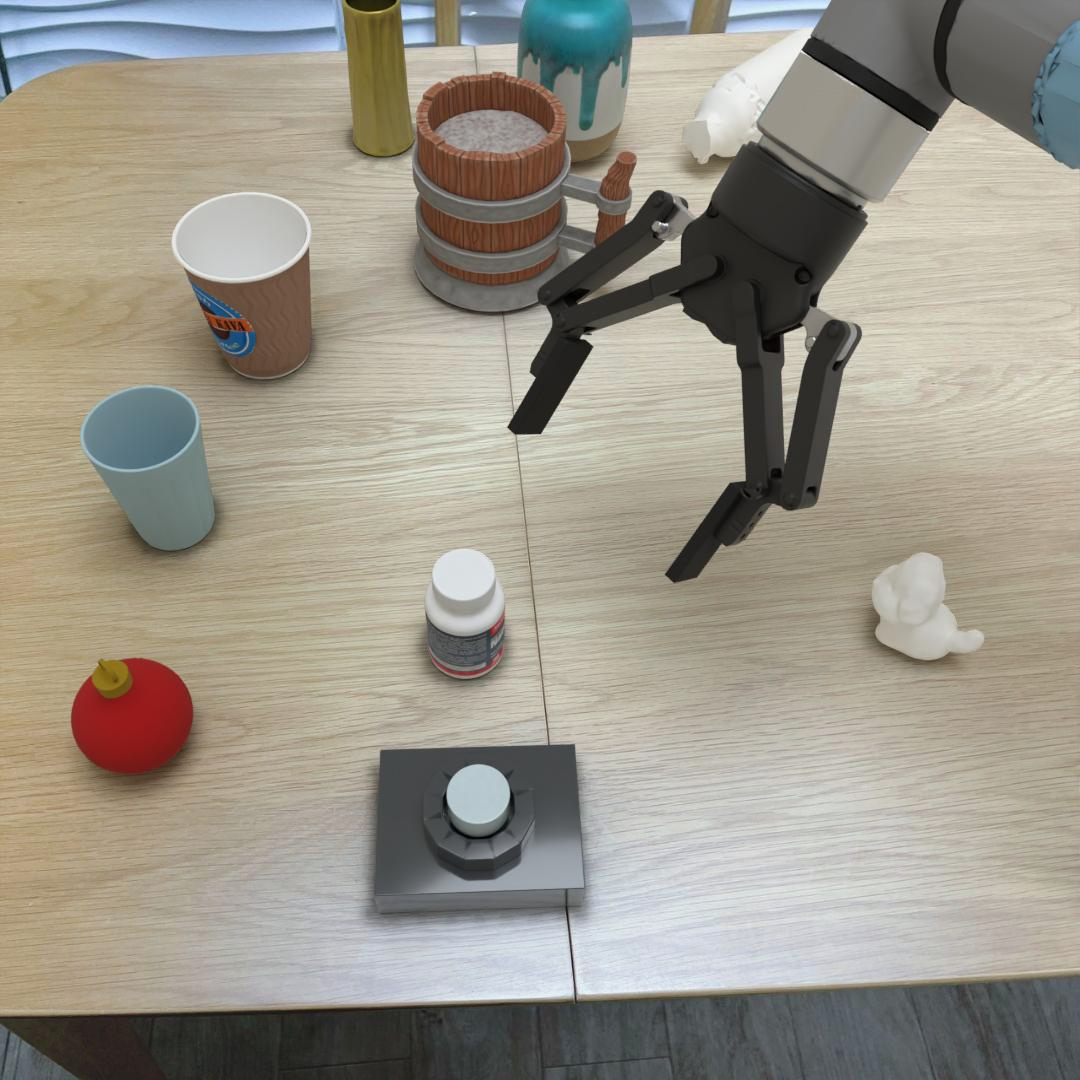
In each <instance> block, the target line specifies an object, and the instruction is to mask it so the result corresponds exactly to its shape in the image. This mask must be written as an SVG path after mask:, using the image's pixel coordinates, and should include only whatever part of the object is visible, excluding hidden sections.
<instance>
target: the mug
mask: <svg viewBox="0 0 1080 1080" xmlns="http://www.w3.org/2000/svg"><path fill="white" fill-rule="evenodd" d="M415 122H416V123H415V124H416V125H415V126H416V137H417V138H416V140H415V142H413V146H412V150H411V166H412V180H413V183H414V186H415V188H416V191H417V193H418V195H417V197H416V199H415V200H416V202H415V204H414V205H415V206H414V209H415V210H414V211H415V222H416V223H415V224H416V232H417V235H418V238H419V240H418V241H417V243H416V245H415V246H414V252H413V256H412V257H413V268H414V270H415V272H416V275H417V277H418V279H419V281H420V282H421V284H423V285H424V287H425V288H427V289H428V290H429V291H430V292H431V293H432V294H433V295H435V296H436V297H438V298H440V299H441V300H443V301H445V302H446V303H448V304H451V305H454V306H457V307H459V308H462V309H466V310H470V311H475V312H484V313H505V312H511V311H515V310H520V309H523V308H525V307H528V306H531V305H534V304H536V303H538V302H539V301H538V298H537V293H538V290H539V288H540V287H541V286H542V285H544V284H545V283H546V282H548V281H549V280H550V279H552V278H553V277H555V276H556V275H557V274H559V273H560V272H561V271H563V270H564V269H566V268H567V267H568V266H570V260H571V259H570V258H571V257H570V254H569V250H571V251H575V252H578V253H582V254H584V255H585V254H586V253H588V252H589V251H590V250H592V249H593V248H594V247H596V246H597V245H599V244H600V243H601V242H603V241H604V240H605V239H607V238H608V237H610V236H611V235H612V234H614V233H615V232H616V231H618V230H619V229H621V228H622V227H623V226H625V225H626V220H627V219H626V217H627V214H628V211H630V209H631V206H632V199H633V189H632V187H631V186H630V181H631V179H632V176H633V173H634V170H635V168H636V166H637V161H638V157H637V155H636V154H635V153H634V152H632V151H628V150H624V151H620V152H618V153H617V155H616V160H615V161H614V162H613V163H612V165H611V166H610V167H609V168H608V169H607V174H606V175H605V176H604V177H603V178H602V179H601V181H600V180H596V179H593V178H588V177H586V176H582V175H578V174H574V173H571V163H572V162H571V154H570V150H569V147H568V145H567V143H566V141H565V138H566V124H567V117H566V112H565V109H564V107H563V105H562V104H561V102H560V100H559V99H558V98H557V97H556V96H555V95H554V94H553V93H552V92H551V91H549V90H548V89H547V88H545V87H544V86H542V85H540V84H537V83H535V82H532V81H529V80H526V79H523V78H519V77H517V76H515V75H514V76H513V75H510V74H509V75H508V74H507V72H506V71H497V70H496V71H494V70H492V71H491V73H478V74H471V75H465V74H462V75H458V76H454V77H451V78H450V80H448V81H445V82H442V81H438V82H436V83H435V84H434V85H432V86H430V87H429V88H428V89H427V90H426V91H424V93H423V94H422V98H421V100H420V102H419V104H418V105H417V109H416V112H415ZM566 197H567V198H569V199H573V200H577V201H580V202H584V203H588V204H592V205H595V206H596V208H597V209H598V211H597V218H598V220H597V223H596V228H595V231H591V230H588V229H585V228H580V227H577V226H573V225H569V224H567V223H568V210H569V209H568V203H567V199H566Z"/></svg>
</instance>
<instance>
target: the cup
mask: <svg viewBox="0 0 1080 1080" xmlns="http://www.w3.org/2000/svg"><path fill="white" fill-rule="evenodd" d="M199 413H200V412H199V409H198V407H197V406H196V404H195V403H194V402H193V400H192V399H191V398H190V397H189V396H188V395H186V394H185V393H184V392H181V391H179V390H177V389H175V388H172V387H168V386H165V385H155V384H143V385H137V386H132V387H127V388H125V389H121V390H119V391H116V392H114V393H112V394H109V395H108V396H107V397H105V398H103V399H102V400H101V401H99V402H98V403H97V404H95V405H94V406H93V407H92V409H90V411H89V412H88V414H87V415H86V416H85V418H84V420H83V421H82V424H81V427H80V432H79V443H80V446H81V448H82V449H81V450H82V451H83V453H84V455H85V456H86V457H87V459H88V460H89V462H90V463H91V465H92V466H93V468H94V470H95V471H96V473H97V474H98V475H99V476H100V478H101V479H102V481H103V482H104V484H105V485H106V487H107V488H108V490H109V491H110V493H111V494H112V496H113V497H114V499H115V500H116V502H117V503H118V505H119V506H120V508H121V509H122V511H123V512H124V514H125V515H126V517H127V518H128V520H129V521H130V523H131V524H132V526H133V527H134V528H135V530H136V531H137V533H138V535H139V536H140V537H141V538H142V540H143V541H145V542H146V543H147V544H148V545H149V546H151V547H152V548H155V549H158V550H162V551H168V552H170V551H181V550H185V549H187V548H190V547H192V546H194V545H196V544H198V543H200V542H201V541H202V540H203V539H204V538H205V537H206V536H207V535H208V534H209V533H210V532H211V530H212V528H213V526H214V522H215V518H216V513H215V507H214V501H213V500H214V499H213V493H212V486H211V482H210V476H209V475H210V474H209V468H208V463H207V462H208V461H207V456H206V451H205V445H204V435H203V430H202V423H201V416H200V414H199Z"/></svg>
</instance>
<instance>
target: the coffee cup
mask: <svg viewBox="0 0 1080 1080" xmlns="http://www.w3.org/2000/svg"><path fill="white" fill-rule="evenodd" d="M171 235H172V236H171V250H172V251H171V252H172V254H173V256H174V258H175V259H176V261H177V262H178V263H179V264H180V265H181V266H182V267H183V270H184V272H185V274H186V276H187V279H188V282H189V284H190V285H191V288H192V290H193V292H194V293H193V294H194V295H195V297H196V299H197V301H198V303H199V306H200V308H201V310H202V313H203V315H204V318H205V320H206V322H207V324H208V327H209V328H210V330H211V333H212V335H213V338H214V339H215V341H216V343H217V344H218V347H219V349H220V352H221V354H222V355H223V357H224V358H225V359H226V361H227V363H228V364H229V366H230V367H231V368H232V369H233V371H235V372H237V373H238V374H240V375H241V376H244V377H245V378H249V379H253V380H272V379H273V380H274V379H279V378H282V377H284V376H288V375H289V374H291V373H293V372H295V371H296V370H298V369H299V368H300V367H301V366H302V365H303V364H305V363H306V360H307V359H308V357H309V355H310V352H311V344H312V343H311V341H312V340H313V339H312V338H313V337H312V336H313V335H312V333H313V332H312V302H311V300H312V299H311V298H312V297H311V265H310V263H311V261H310V259H311V258H310V244H311V242H312V238H313V237H312V236H313V228H312V224H311V222H310V219H309V217H308V215H307V214H306V213H305V212H304V211H303V210H302V208H300V207H299V206H298V204H295V203H294V202H292V201H290V200H288V199H287V198H285V197H282V196H279V195H276V194H271V193H267V192H260V191H259V192H258V191H242V192H233V193H226V194H222V195H219V196H216V197H213V198H210V199H207V200H205V201H203V202H201V203H199V204H197V205H196V206H194V207H193V208H191V209H190V210H188V211H187V212H186V213H185V214H184V215H183V216H182V217H181V218H180V219H179V220H178V222H177V223H176V225H175V227H174V228H173V232H172V234H171Z"/></svg>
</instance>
